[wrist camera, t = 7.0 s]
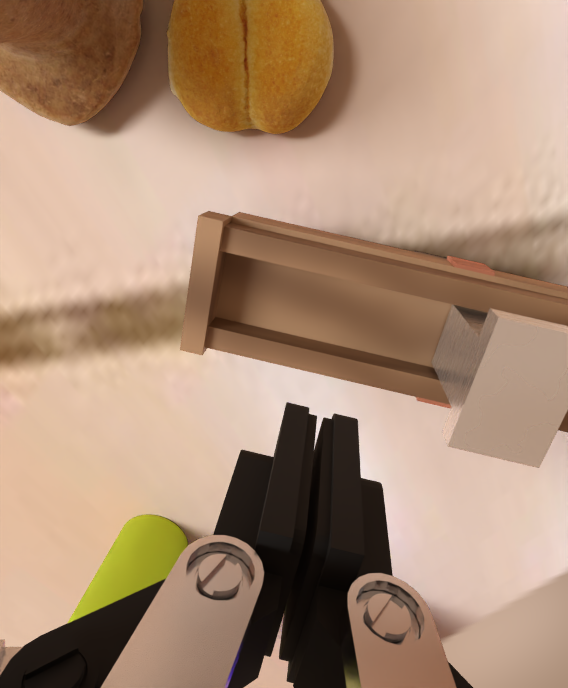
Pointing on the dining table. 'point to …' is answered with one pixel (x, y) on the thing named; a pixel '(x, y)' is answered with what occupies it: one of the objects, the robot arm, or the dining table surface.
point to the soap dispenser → (134, 562)
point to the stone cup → (67, 54)
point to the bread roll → (249, 61)
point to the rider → (503, 383)
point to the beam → (341, 302)
